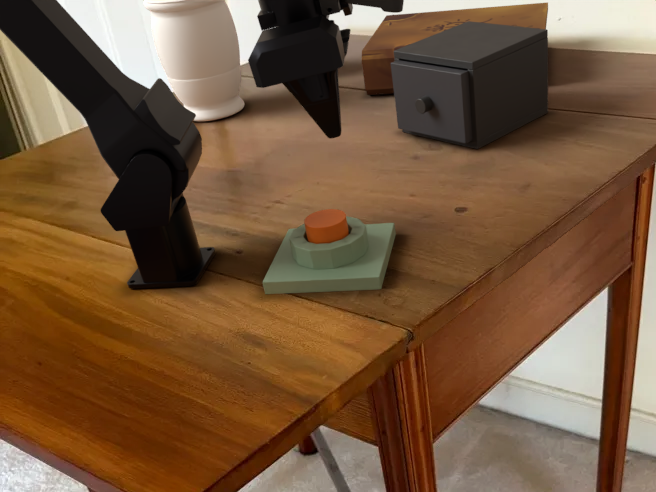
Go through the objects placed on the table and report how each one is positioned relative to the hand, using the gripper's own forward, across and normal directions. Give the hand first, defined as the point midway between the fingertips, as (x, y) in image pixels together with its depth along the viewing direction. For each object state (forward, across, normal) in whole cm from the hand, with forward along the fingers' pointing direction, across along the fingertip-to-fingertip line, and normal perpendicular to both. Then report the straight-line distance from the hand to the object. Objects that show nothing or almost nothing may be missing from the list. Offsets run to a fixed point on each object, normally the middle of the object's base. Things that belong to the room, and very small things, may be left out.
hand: (335, 136), depth 67 cm
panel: (+10, -2, +3) cm, 11 cm away
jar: (+8, +46, +22) cm, 52 cm away
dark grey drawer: (+11, +28, -10) cm, 32 cm away
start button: (+8, -2, +3) cm, 8 cm away
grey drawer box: (+12, +30, -12) cm, 34 cm away
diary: (+12, +51, -12) cm, 53 cm away
